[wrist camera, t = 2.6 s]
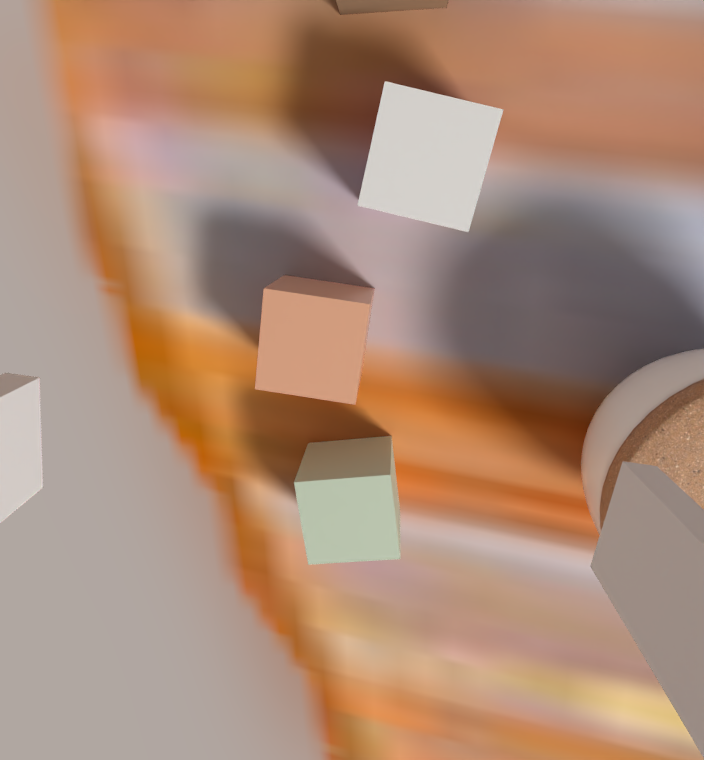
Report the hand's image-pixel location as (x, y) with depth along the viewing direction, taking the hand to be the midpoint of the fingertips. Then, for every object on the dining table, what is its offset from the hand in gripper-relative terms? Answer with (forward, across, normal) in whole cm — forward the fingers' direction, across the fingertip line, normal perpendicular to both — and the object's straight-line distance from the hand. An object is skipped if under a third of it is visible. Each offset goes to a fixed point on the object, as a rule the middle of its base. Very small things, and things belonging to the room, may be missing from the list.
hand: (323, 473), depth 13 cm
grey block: (+19, +2, +8) cm, 21 cm away
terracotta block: (+20, -2, -1) cm, 20 cm away
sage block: (+20, +1, -10) cm, 22 cm away
